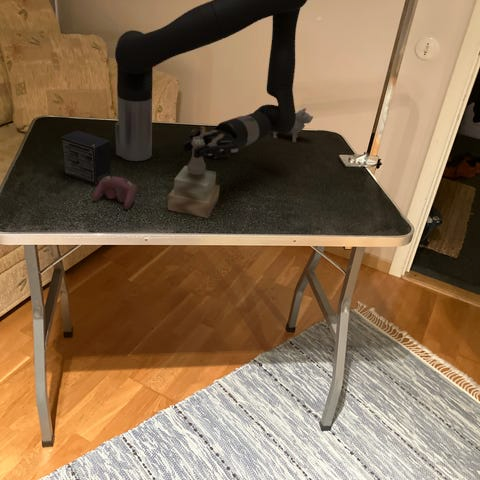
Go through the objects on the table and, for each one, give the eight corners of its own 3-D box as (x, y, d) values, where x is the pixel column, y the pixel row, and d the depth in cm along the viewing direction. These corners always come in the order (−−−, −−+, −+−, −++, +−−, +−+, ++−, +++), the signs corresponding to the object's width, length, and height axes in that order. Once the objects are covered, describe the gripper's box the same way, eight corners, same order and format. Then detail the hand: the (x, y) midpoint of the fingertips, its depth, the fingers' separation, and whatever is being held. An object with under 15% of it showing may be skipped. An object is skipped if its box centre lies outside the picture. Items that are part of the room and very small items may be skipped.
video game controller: (135, 210, 121) (141, 182, 120) (127, 210, 117) (133, 181, 116) (99, 200, 123) (105, 172, 122) (90, 200, 119) (95, 171, 118)
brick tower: (167, 209, 120) (168, 180, 115) (181, 191, 128) (182, 163, 124) (207, 218, 119) (210, 188, 114) (218, 199, 127) (221, 171, 122)
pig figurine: (307, 144, 163) (313, 113, 157) (269, 137, 165) (274, 106, 159) (309, 139, 167) (315, 108, 161) (272, 131, 169) (277, 101, 163)
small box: (112, 176, 131) (110, 139, 125) (96, 186, 126) (94, 148, 120) (80, 165, 134) (77, 128, 128) (63, 174, 129) (59, 136, 123)
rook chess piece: (203, 176, 116) (205, 145, 112) (184, 173, 117) (186, 141, 112) (208, 168, 120) (210, 137, 115) (190, 165, 120) (191, 134, 116)
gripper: (218, 110, 126) (167, 125, 114) (261, 127, 119) (212, 146, 107) (215, 137, 130) (167, 155, 118) (257, 156, 123) (210, 177, 112)
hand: (189, 150), depth 113 cm, fingers closed on rook chess piece, 3 cm apart
